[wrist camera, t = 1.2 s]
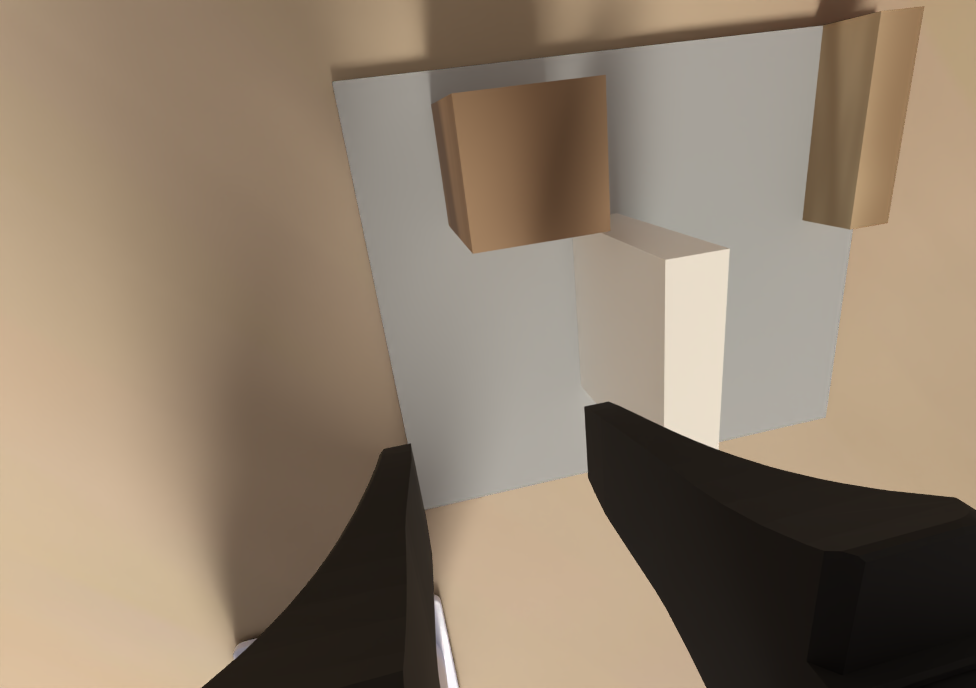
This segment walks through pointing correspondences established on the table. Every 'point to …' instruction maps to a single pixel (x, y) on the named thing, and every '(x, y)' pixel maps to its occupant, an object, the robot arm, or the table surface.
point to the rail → (860, 117)
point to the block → (525, 162)
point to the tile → (653, 324)
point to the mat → (550, 265)
